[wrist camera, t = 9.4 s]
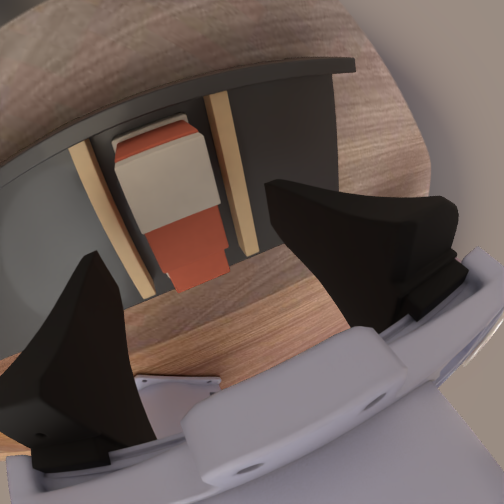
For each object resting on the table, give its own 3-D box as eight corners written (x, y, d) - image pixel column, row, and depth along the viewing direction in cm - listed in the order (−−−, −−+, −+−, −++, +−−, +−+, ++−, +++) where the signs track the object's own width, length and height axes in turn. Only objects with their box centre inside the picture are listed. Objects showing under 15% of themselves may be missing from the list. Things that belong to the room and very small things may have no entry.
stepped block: (111, 137, 11) (104, 163, 8) (182, 111, 11) (207, 124, 8) (166, 270, 16) (183, 325, 13) (221, 248, 17) (250, 297, 13)
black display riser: (304, 56, 14) (355, 57, 11) (319, 205, 21) (357, 235, 18) (-78, 231, 8) (-107, 270, 5) (0, 338, 15) (-8, 383, 12)
